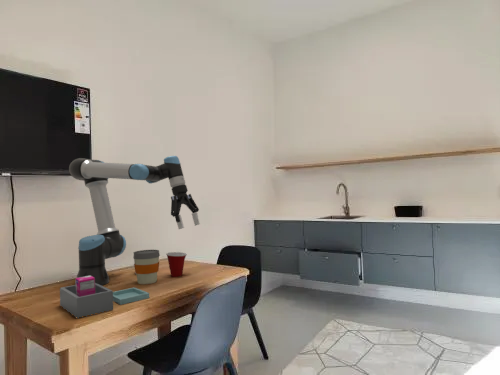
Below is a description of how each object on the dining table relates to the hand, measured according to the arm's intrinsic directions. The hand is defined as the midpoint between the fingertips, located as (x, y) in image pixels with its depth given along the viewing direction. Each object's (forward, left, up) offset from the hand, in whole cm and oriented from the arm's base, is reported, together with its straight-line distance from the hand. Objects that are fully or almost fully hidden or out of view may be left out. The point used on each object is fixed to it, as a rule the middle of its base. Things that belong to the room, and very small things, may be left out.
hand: (189, 226), depth 168 cm
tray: (+5, -34, -27) cm, 43 cm away
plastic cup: (-15, +1, -27) cm, 31 cm away
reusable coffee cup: (-15, -16, -27) cm, 35 cm away
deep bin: (+5, -51, -27) cm, 57 cm away
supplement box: (+5, -51, -27) cm, 57 cm away
